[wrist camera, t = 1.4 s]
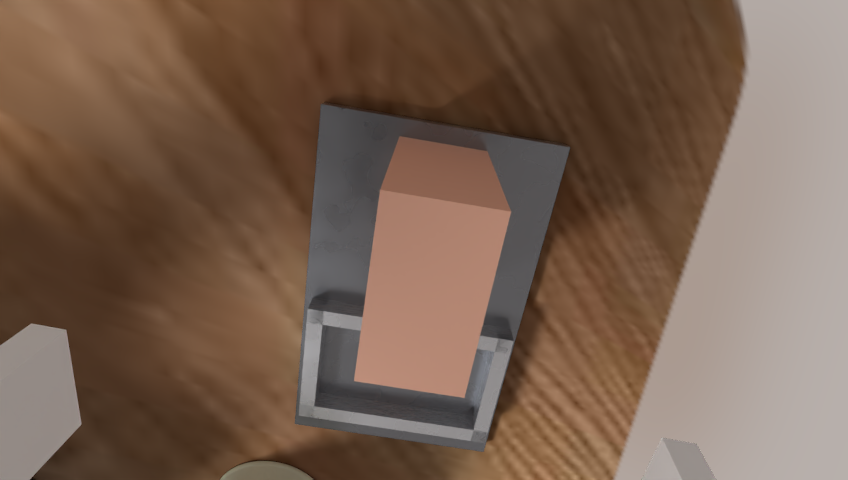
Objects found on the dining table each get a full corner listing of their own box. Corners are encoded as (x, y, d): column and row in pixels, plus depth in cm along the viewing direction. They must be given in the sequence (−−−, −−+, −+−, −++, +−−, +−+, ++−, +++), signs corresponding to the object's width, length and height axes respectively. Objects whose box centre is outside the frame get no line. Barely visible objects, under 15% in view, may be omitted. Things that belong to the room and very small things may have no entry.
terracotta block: (456, 289, 31) (464, 397, 22) (378, 277, 31) (354, 381, 22) (487, 151, 28) (511, 211, 19) (399, 136, 28) (380, 189, 19)
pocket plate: (482, 443, 37) (485, 467, 35) (297, 416, 37) (289, 438, 35) (566, 144, 28) (576, 153, 26) (324, 102, 28) (315, 107, 26)
